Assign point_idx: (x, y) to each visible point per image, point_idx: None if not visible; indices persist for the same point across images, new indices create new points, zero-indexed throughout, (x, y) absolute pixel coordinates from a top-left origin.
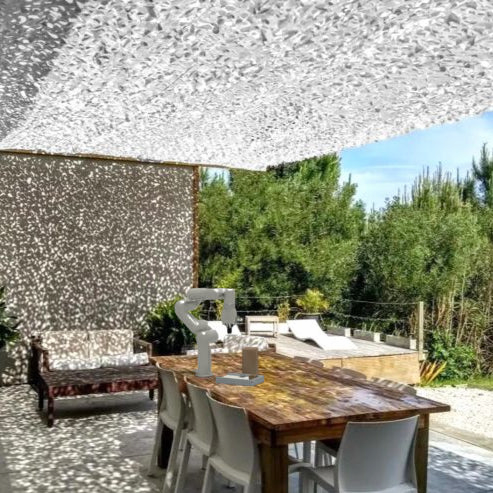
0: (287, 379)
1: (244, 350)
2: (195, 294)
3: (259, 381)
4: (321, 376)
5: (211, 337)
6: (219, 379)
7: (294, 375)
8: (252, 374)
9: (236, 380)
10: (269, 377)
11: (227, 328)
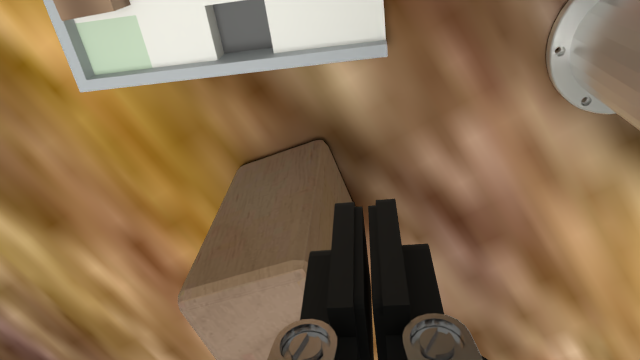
0: (57, 210)
1: (279, 260)
2: None
3: None
4: (6, 342)
5: None
6: None
7: (117, 312)
8: (96, 4)
9: None
10: (177, 211)
11: (402, 290)
